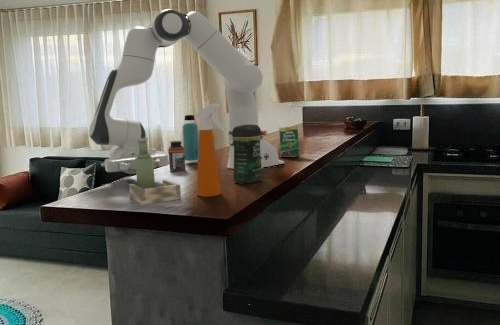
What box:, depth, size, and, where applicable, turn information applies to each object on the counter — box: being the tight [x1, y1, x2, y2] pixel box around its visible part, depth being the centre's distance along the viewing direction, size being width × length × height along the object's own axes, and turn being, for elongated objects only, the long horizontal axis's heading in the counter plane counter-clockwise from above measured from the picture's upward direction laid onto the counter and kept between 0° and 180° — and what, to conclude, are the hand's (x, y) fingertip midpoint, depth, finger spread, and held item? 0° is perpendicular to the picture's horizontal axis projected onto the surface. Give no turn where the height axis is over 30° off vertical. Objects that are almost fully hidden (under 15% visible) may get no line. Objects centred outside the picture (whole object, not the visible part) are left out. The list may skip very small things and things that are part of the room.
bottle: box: [135, 137, 156, 189], centre depth 153 cm, size 5×5×16 cm
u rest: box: [128, 178, 182, 206], centre depth 141 cm, size 11×11×4 cm
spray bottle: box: [195, 103, 225, 198], centre depth 141 cm, size 7×11×26 cm, turn 49°
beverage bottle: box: [182, 114, 199, 162], centre depth 204 cm, size 6×7×20 cm
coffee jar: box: [232, 124, 263, 185], centre depth 159 cm, size 10×8×19 cm
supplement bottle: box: [168, 140, 186, 173], centre depth 187 cm, size 6×6×11 cm
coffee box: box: [278, 126, 300, 157], centre depth 209 cm, size 8×3×13 cm, turn 86°
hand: (143, 165), depth 154 cm, fingers open, 8 cm apart
